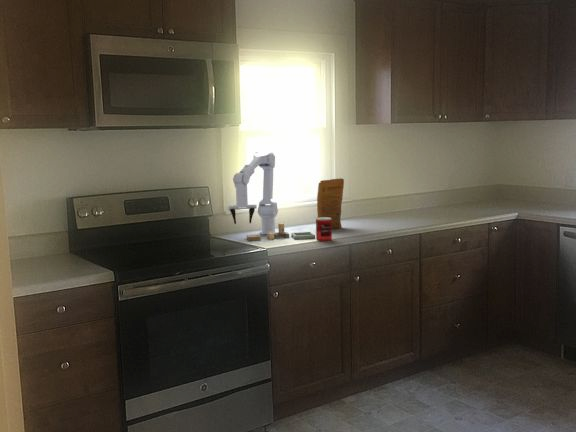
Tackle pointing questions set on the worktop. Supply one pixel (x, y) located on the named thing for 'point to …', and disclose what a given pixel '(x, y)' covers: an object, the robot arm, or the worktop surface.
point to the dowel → (281, 228)
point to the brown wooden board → (253, 237)
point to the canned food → (324, 229)
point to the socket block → (281, 235)
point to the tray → (303, 235)
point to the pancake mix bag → (330, 200)
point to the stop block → (271, 235)
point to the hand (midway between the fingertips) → (242, 223)
